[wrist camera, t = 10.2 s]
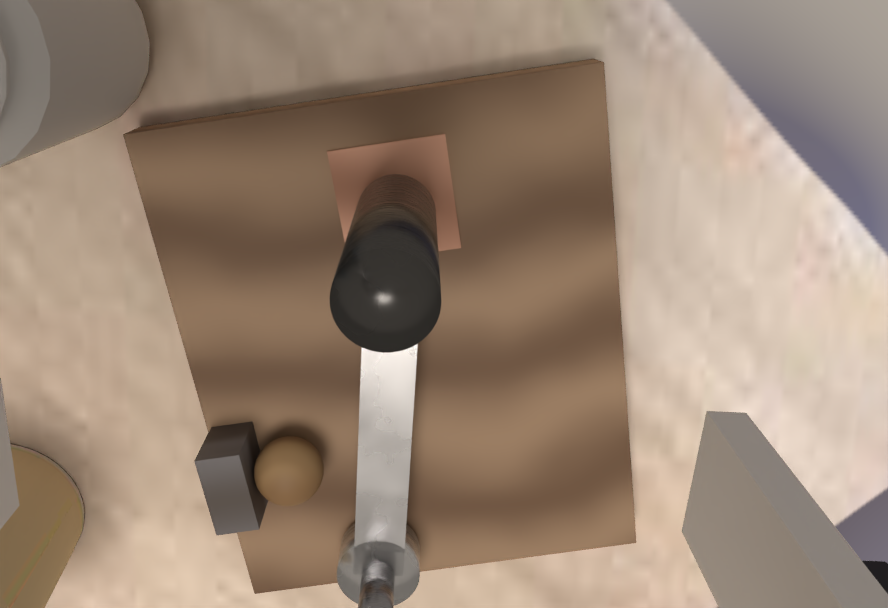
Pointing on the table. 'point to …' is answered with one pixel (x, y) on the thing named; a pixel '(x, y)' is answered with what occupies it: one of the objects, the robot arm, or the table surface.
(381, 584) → the lever
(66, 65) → the can
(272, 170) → the nutcracker board
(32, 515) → the coffee cup
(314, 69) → the table surface
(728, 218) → the table surface
